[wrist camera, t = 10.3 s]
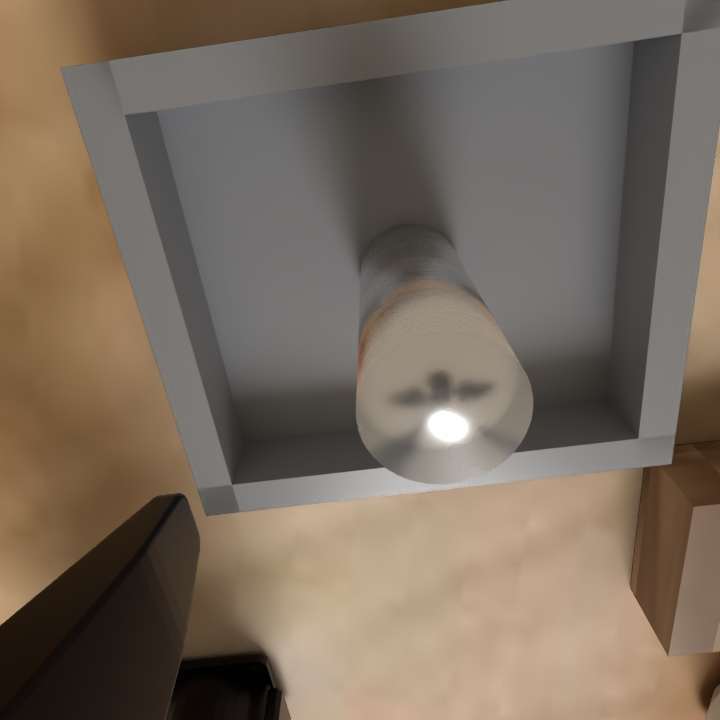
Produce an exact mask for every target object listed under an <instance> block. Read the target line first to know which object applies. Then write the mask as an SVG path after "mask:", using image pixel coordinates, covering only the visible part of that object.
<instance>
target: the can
mask: <svg viewBox="0 0 720 720" xmlns="http://www.w3.org/2000/svg"><path fill="white" fill-rule="evenodd" d="M705 720H720V684H719V685H718V686H717V687H716V688H715V690H714V693H713V696H712V698H711V704H710V706H709V709H708V712H707V715H706V718H705Z"/></svg>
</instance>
